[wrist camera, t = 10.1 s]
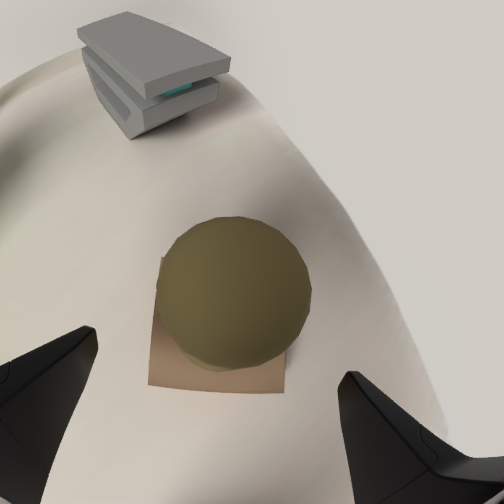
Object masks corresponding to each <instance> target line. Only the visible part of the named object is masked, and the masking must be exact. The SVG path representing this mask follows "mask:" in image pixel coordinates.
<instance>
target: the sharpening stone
mask: <svg viewBox="0 0 504 504" xmlns="http://www.w3.org/2000/svg"><path fill="white" fill-rule="evenodd" d="M77 34H78V38H79V39H80V40H81V41H83V42H84V43H85V44H86V45H87V46H86V47H84V48H81V50H82V56H83V60H84V63H85V66H86V69H87V71H88V74H89V76H90V79H91V82H92V84H93V87H94V89H95V92H96V94H97V97H98V99H99V101H100V103H101V104H102V105H103V107H104V108H105V109H106V111H107V112H108V113H109V115H110V116H111V117H112V118H113V120H114V121H115V122H116V124H117V125H118V126H119V128H120V129H121V130H122V132H123V133H124V134H125V135H126V137H127V138H128V139H129V140H131V139H133V138H135V137H137V136H139V135H141V134H143V133H145V132H147V131H149V130H151V129H153V128H155V127H157V126H159V125H161V124H164V123H166V122H168V121H170V120H173V119H175V118H177V117H180V116H182V115H184V114H187V113H189V112H191V111H193V110H195V109H197V108H200V107H202V106H204V105H206V104H209V103H211V102H213V101H215V100H217V97H218V89H219V82H218V81H217V80H215V79H214V78H212V76H215V75H219V74H222V73H226V72H229V67H230V61H231V57H229V56H227V55H226V54H224V53H222V52H220V51H218V50H216V49H215V48H213V47H210V46H209V45H207V44H205V43H203V42H201V41H199V40H197V39H195V38H193V37H190V36H188V35H186V34H184V33H182V32H180V31H177V30H175V29H173V28H170V27H168V26H165V25H163V24H160V23H158V22H155V21H153V20H150V19H147V18H145V17H142V16H139V15H136V14H133V13H130V12H124V13H121V14H117V15H114V16H111V17H108V18H105V19H102V20H99V21H96V22H93V23H91V24H88V25H86V26H83V27H81V28H78V29H77Z"/></svg>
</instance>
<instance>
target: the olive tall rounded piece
mask: <svg viewBox="0 0 504 504" xmlns="http://www.w3.org/2000/svg"><path fill="white" fill-rule="evenodd" d="M156 289H157V307H158V311H159V314H160V316H161V318H162V321H163V323H164V326H165V328H166V330H167V332H168V334H169V335H170V336H171V337H172V338H173V339H174V341H175V342H176V343H177V344H178V346H179V348H180V350H181V352H182V353H183V354H184V355H185V356H186V357H187V358H188V359H189V361H190V362H192V363H193V364H195V365H197V366H199V367H200V368H202V369H204V370H209V371H214V372H225V371H233V370H235V369H242V368H249V367H256V366H260V365H262V364H264V363H266V362H268V361H270V360H272V359H274V358H275V357H277V356H279V355H281V354H282V353H283V352H284V351H285V350H286V349H287V348H288V347H289V346H290V345H291V344H292V343H293V341H294V340H295V339H296V338H297V337H298V336H299V334H300V332H301V330H302V327H303V325H304V323H305V321H306V318H307V316H308V314H309V312H310V302H311V291H312V288H311V283H310V279H309V274H308V270H307V266H306V265H305V263H304V261H303V259H302V257H301V256H300V254H299V252H298V250H297V249H296V247H295V246H294V245H293V244H292V243H291V242H290V241H289V240H288V239H287V238H286V237H285V236H284V235H283V234H282V233H280V232H279V231H278V230H276V229H274V228H272V227H271V226H269V225H267V224H265V223H263V222H261V221H258V220H253V219H249V218H245V217H240V216H239V217H220V218H214V219H211V220H208V221H206V222H203V223H200V224H197V225H195V226H194V227H192V228H191V229H189V230H188V231H187V232H185V233H184V234H183V235H181V236H180V237H179V238H177V240H176V241H175V243H174V244H173V245H172V247H171V248H170V250H169V251H168V253H167V254H166V255H165V257H164V260H163V263H162V266H161V270H160V273H159V277H158V280H157V284H156Z"/></svg>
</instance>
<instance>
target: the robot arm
mask: <svg viewBox="0 0 504 504" xmlns="http://www.w3.org/2000/svg"><path fill="white" fill-rule="evenodd" d="M97 352H98V341H97V334H96V330H95V329H94V328H92V327H89V326H86V325H85V326H82V327H80V328H78V329H76V330H74V331H72V332H69V333H67V334H65V335H63V336H61V337H59V338H57V339H55V340H53V341H51V342H49V343H47V344H44V345H42V346H40V347H38V348H36V349H34V350H32V351H30V352H28V353H26V354H24V355H22V356H20V357H18V358H16V359H13V360H12V361H11V362H10V361H9V362H7V363H5V364H3V365H1V366H0V504H40V502H41V499H42V495H43V492H44V489H45V486H46V482H47V479H48V476H49V475H48V474H49V473H50V470H51V467H52V464H53V462H54V459H55V456H56V453H57V451H58V448H59V445H60V443H61V440H62V438H63V435H64V433H65V431H66V428H67V426H68V423H69V421H70V419H71V416H72V414H73V412H74V410H75V407H76V405H77V403H78V401H79V399H80V396H81V394H82V392H83V390H84V388H85V385H86V383H87V380H88V377H89V374H90V371H91V368H92V366H93V363H94V360H95V357H96V355H97ZM338 401H339V411H340V422H341V428H342V433H343V438H344V443H345V449H346V454H347V459H348V465H349V470H350V476H351V482H352V488H353V494H354V501H355V504H504V456H501V457H488V458H472V457H469V456H466V455H464V454H463V453H461V452H459V451H458V450H456V449H455V448H453V447H452V446H450V445H449V444H447V443H446V442H444V441H443V440H441V439H440V438H438V437H437V436H435V435H434V434H433V433H432V432H430V431H429V430H428V429H426V428H425V427H424V426H423V425H422V424H420V423H419V422H418V421H417V420H415V419H414V418H413V417H412V416H411V415H409V414H408V413H407V412H406V411H405V410H403V409H402V408H401V407H400V406H399V405H397V404H396V403H395V402H394V401H393V400H391V399H390V398H389V397H388V396H387V395H386V394H384V393H383V392H382V391H381V390H380V389H378V388H377V387H376V386H375V385H374V384H373V383H371V382H370V381H369V380H368V379H367V378H365V377H364V376H363V375H362V374H361V373H360V372H358V371H348V372H347V373H346V374H345V376H344V377H343V379H342V381H341V382H340V384H339V386H338Z"/></svg>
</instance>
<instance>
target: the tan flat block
mask: <svg viewBox="0 0 504 504" xmlns="http://www.w3.org/2000/svg"><path fill="white" fill-rule="evenodd" d="M163 260H164V257H161V264H160V270H161V266H162V263H163ZM160 270H159V273H160ZM284 376H285V351H284V352H283V353H282V354H281V355H279V356H277V357H275V358H274V359H272V360H270V361H268V362H266V363H264V364H262V365H260V366H256V367H249V368H242V369H235V370H233V371H225V372H214V371H209V370H204V369H202V368H200V367H199V366H197V365H195V364H193V363H192V362H190V361H189V359H188V358H187V357H186V356H185V355H184V354H183V353H182V352H181V350H180V348H179V346H178V344H177V343H176V342H175V341H174V339H173V338H172V337H171V336H170V335H169V334H168V332H167V330H166V328H165V326H164V323H163V321H162V318H161V316H160V314H159V311H158V307H157V291H156V299H155V307H154V315H153V325H152V335H151V347H150V360H149V376H148V385H152V386H159V387H166V388H174V389H183V390H194V391H206V392H222V393H258V394H262V393H284Z"/></svg>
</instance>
